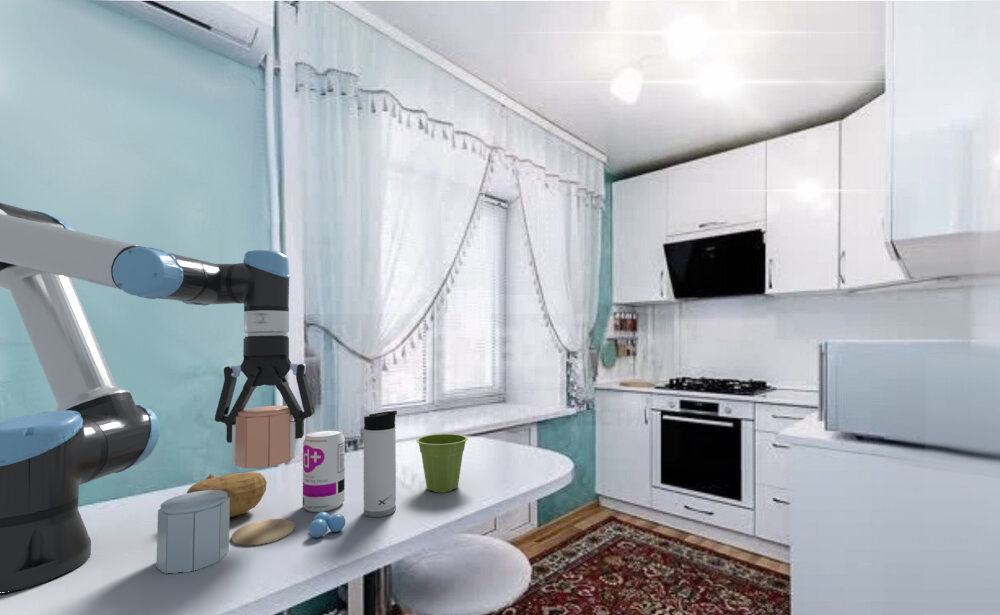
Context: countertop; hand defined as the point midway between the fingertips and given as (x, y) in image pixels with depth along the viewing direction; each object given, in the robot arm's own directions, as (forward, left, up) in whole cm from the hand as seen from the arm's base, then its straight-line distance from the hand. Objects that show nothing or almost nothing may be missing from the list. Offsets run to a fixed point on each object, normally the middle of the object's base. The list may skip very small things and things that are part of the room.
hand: (265, 458), depth 84 cm
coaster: (0, 0, -13) cm, 13 cm away
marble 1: (+10, 0, -13) cm, 17 cm away
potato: (-10, +10, -14) cm, 20 cm away
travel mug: (+20, +6, -13) cm, 25 cm away
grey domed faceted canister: (-8, -8, -13) cm, 18 cm away
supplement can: (+8, +12, -13) cm, 20 cm away
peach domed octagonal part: (0, 0, 0) cm, 0 cm away
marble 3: (+13, -2, -13) cm, 18 cm away
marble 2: (+10, -4, -13) cm, 17 cm away
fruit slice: (-17, +21, -14) cm, 30 cm away
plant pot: (+33, +18, -14) cm, 40 cm away
